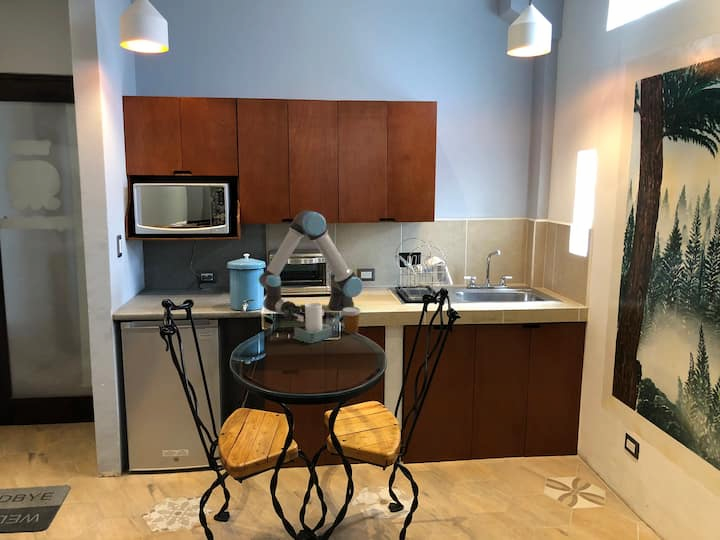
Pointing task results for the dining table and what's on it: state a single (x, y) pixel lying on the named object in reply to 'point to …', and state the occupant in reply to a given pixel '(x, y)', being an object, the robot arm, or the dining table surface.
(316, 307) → the cup
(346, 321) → the disposable coffee cup
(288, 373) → the dining table surface
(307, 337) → the end holder
